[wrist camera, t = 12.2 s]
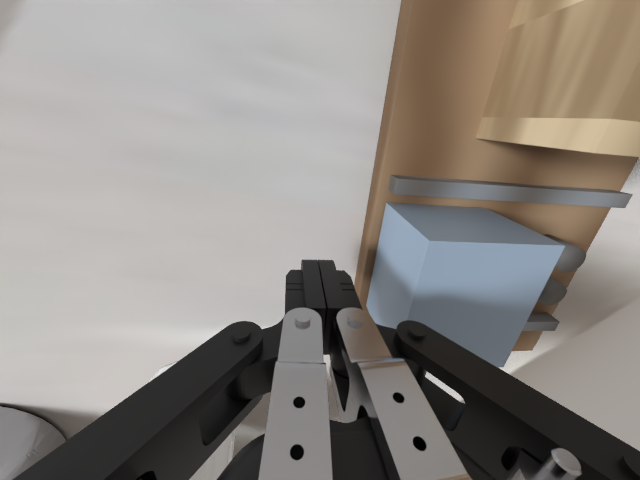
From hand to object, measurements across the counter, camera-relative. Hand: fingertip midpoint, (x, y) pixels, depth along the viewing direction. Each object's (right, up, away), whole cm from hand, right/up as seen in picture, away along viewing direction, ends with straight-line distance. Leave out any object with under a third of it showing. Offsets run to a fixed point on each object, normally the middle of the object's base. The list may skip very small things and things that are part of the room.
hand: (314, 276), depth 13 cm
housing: (+7, +1, +4) cm, 8 cm away
